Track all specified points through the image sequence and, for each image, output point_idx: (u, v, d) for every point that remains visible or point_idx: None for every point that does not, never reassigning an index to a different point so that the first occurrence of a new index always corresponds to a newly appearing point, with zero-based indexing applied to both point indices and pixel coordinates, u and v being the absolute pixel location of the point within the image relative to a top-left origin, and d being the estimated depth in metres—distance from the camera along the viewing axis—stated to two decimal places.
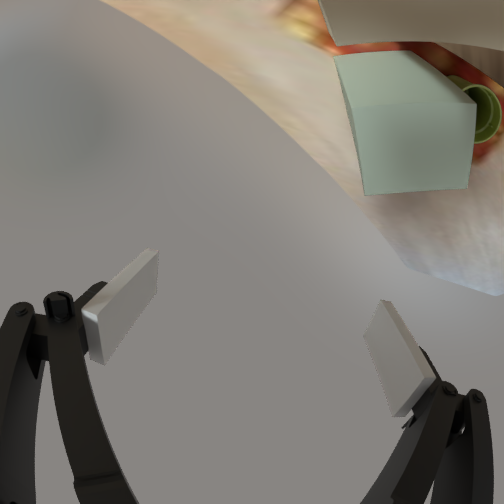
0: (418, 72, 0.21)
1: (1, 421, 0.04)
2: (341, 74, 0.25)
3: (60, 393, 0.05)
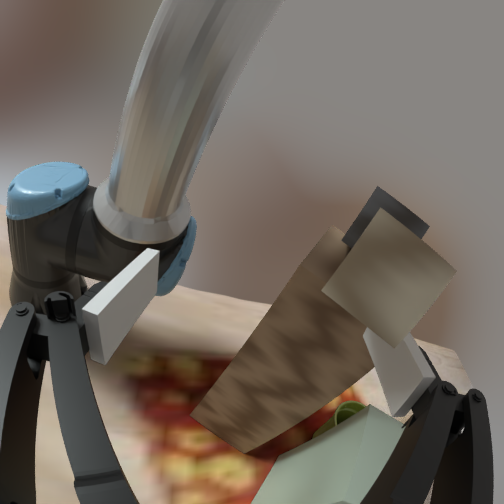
0: (315, 450, 0.26)
1: (2, 421, 0.04)
2: None
3: (61, 393, 0.05)
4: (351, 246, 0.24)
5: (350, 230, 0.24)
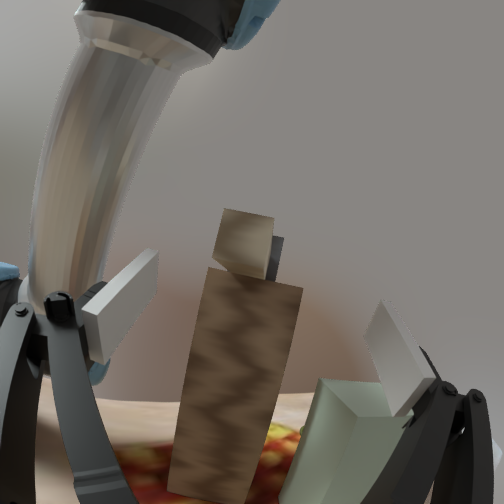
0: (305, 449, 0.26)
1: (1, 421, 0.04)
2: (320, 500, 0.17)
3: (60, 393, 0.05)
4: None
5: None
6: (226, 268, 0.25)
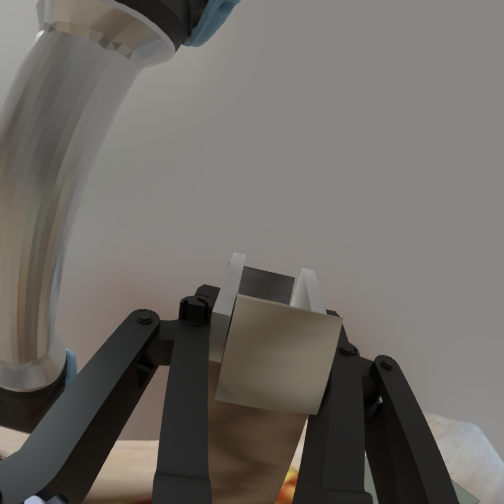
0: None
1: (86, 424, 0.05)
2: None
3: (174, 391, 0.07)
4: None
5: None
6: None
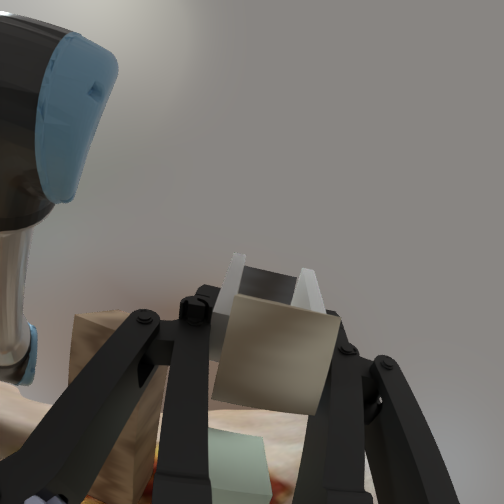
0: None
1: (86, 424, 0.05)
2: None
3: (174, 391, 0.07)
4: None
5: None
6: None
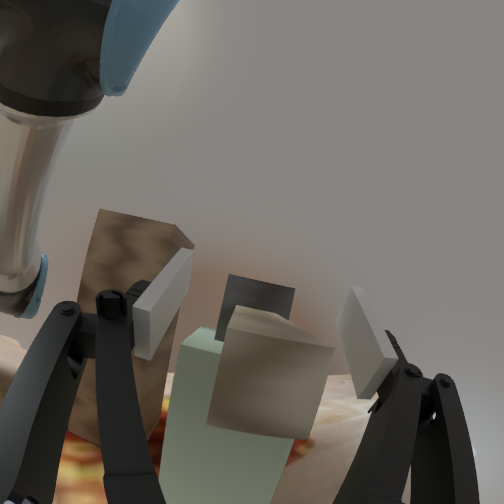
0: None
1: (32, 419, 0.04)
2: (162, 450, 0.17)
3: (103, 388, 0.06)
4: None
5: (219, 326, 0.24)
6: None
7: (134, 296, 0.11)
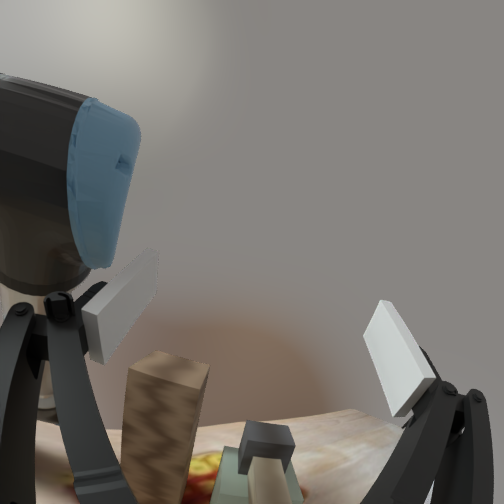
0: (213, 493, 0.30)
1: (1, 421, 0.04)
2: None
3: (60, 393, 0.05)
4: (246, 474, 0.27)
5: (241, 467, 0.27)
6: None
7: (90, 298, 0.10)
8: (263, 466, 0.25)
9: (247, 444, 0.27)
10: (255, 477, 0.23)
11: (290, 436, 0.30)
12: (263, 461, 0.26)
